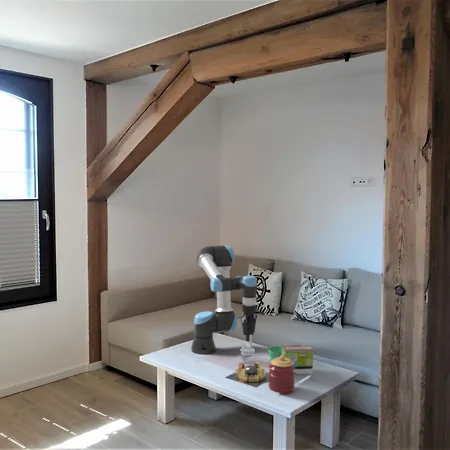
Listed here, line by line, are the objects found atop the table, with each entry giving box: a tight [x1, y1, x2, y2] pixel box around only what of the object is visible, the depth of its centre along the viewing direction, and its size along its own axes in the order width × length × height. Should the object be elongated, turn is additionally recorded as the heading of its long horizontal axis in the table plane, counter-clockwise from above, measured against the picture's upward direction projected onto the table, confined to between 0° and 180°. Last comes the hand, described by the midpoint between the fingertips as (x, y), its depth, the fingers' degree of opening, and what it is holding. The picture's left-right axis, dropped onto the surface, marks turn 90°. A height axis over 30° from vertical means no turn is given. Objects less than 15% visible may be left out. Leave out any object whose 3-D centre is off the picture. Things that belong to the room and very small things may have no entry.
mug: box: [268, 345, 282, 362], centre depth 279 cm, size 15×10×10 cm
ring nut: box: [235, 361, 268, 382], centre depth 259 cm, size 16×16×5 cm
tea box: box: [281, 343, 314, 376], centre depth 268 cm, size 15×10×15 cm, turn 99°
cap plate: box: [224, 364, 269, 388], centre depth 259 cm, size 20×20×6 cm
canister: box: [268, 355, 296, 395], centre depth 245 cm, size 13×13×18 cm
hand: (248, 346), depth 267 cm, fingers closed
